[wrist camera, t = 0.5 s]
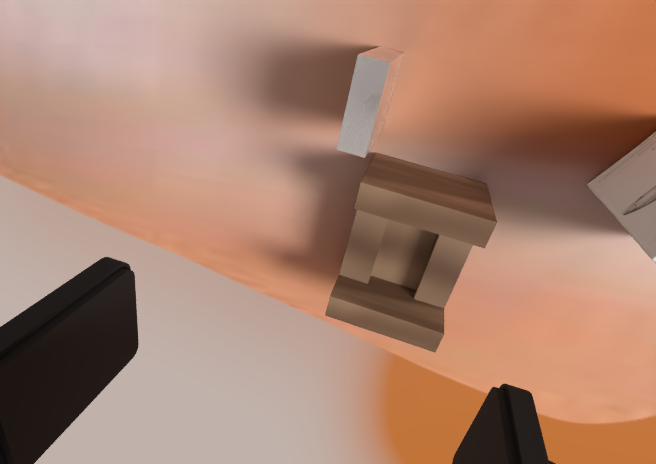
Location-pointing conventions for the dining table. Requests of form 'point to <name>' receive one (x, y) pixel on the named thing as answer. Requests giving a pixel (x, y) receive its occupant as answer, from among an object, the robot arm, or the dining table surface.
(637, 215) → the supplement box
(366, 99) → the grey slab
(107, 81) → the dining table surface
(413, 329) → the wooden spool frame
